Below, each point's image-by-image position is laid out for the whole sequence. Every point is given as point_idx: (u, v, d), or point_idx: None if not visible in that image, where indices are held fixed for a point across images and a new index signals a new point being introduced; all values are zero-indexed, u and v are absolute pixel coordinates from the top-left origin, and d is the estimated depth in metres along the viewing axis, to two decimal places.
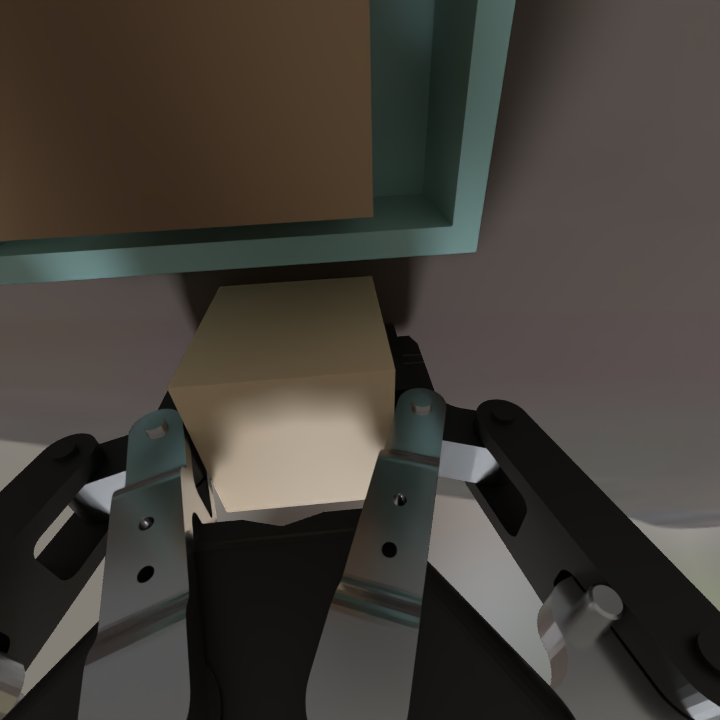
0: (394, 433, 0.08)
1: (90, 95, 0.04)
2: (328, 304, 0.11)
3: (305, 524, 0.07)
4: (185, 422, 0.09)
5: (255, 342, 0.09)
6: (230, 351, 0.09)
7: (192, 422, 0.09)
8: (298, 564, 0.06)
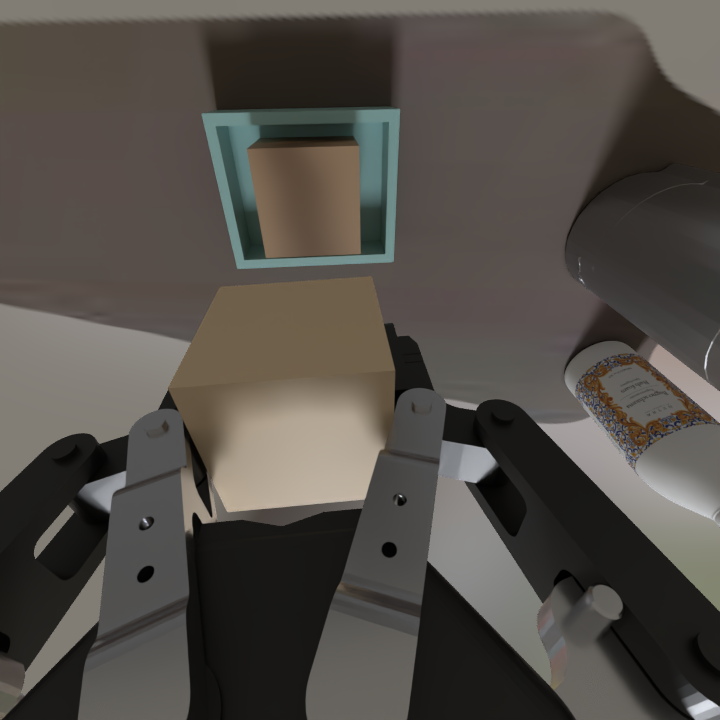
0: (394, 433, 0.08)
1: (305, 230, 0.22)
2: (328, 304, 0.11)
3: (305, 524, 0.07)
4: (186, 423, 0.09)
5: (255, 343, 0.09)
6: (231, 351, 0.09)
7: (193, 422, 0.09)
8: (298, 564, 0.06)
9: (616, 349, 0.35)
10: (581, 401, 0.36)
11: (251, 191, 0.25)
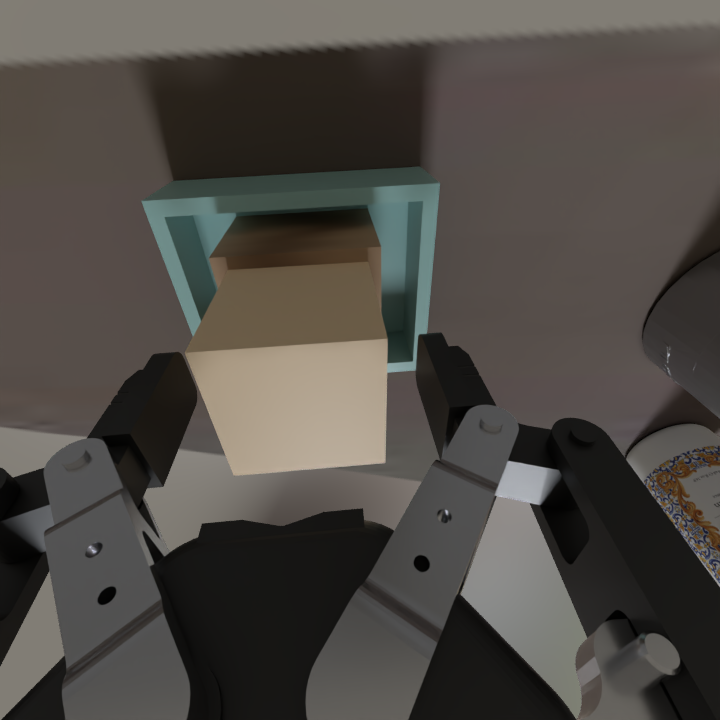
0: (468, 456, 0.08)
1: None
2: (328, 285, 0.12)
3: (305, 524, 0.07)
4: (199, 386, 0.10)
5: (262, 316, 0.10)
6: (239, 323, 0.10)
7: (205, 386, 0.10)
8: (298, 564, 0.06)
9: (698, 439, 0.28)
10: None
11: None
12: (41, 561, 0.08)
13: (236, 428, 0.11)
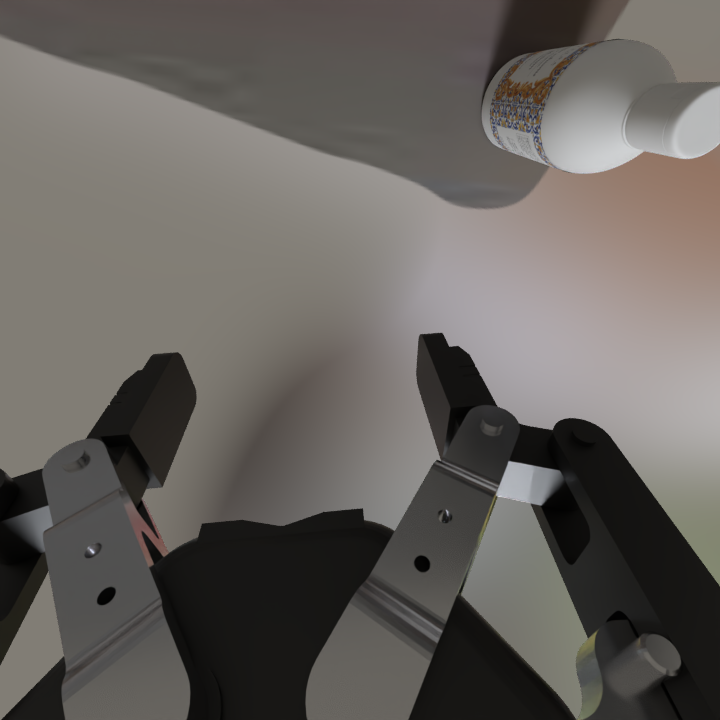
0: (469, 456, 0.08)
1: None
2: None
3: (305, 524, 0.07)
4: None
5: None
6: None
7: None
8: (298, 564, 0.06)
9: (533, 52, 0.29)
10: (496, 129, 0.30)
11: None
12: (40, 562, 0.08)
13: None
